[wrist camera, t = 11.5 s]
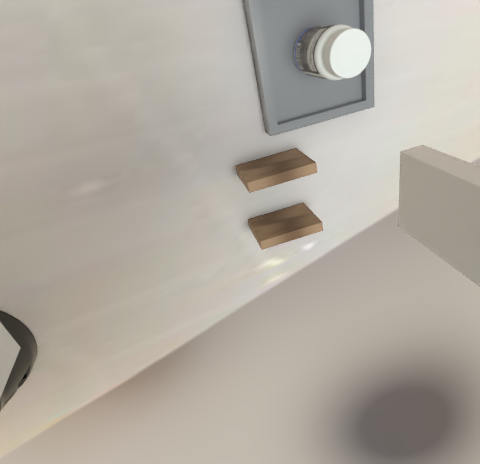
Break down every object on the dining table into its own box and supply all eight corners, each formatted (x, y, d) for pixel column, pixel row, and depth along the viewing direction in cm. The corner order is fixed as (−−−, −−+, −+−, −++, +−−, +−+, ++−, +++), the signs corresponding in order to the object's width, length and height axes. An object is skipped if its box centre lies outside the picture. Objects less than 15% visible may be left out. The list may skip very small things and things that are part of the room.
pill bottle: (341, 41, 38) (386, 42, 31) (317, 83, 40) (355, 92, 33) (307, 16, 36) (346, 11, 29) (284, 61, 38) (316, 66, 31)
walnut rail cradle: (249, 227, 48) (261, 249, 43) (235, 165, 43) (247, 182, 38) (304, 210, 49) (322, 230, 43) (296, 148, 44) (316, 162, 39)
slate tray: (265, 132, 42) (270, 136, 40) (240, -18, 34) (244, -21, 33) (365, 104, 43) (374, 106, 42) (361, -47, 36) (372, -51, 34)
